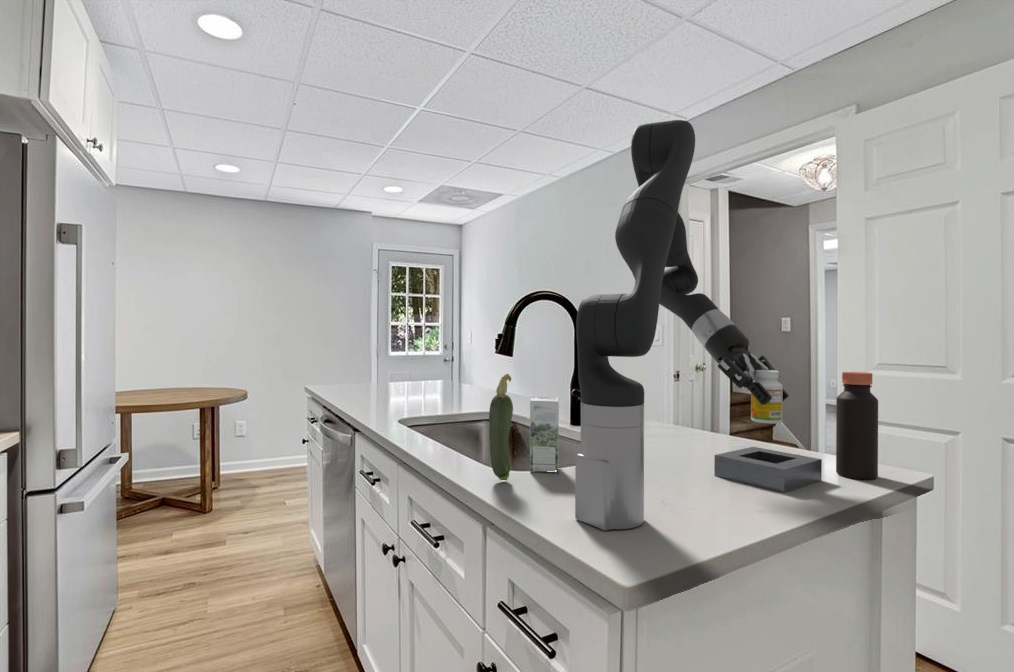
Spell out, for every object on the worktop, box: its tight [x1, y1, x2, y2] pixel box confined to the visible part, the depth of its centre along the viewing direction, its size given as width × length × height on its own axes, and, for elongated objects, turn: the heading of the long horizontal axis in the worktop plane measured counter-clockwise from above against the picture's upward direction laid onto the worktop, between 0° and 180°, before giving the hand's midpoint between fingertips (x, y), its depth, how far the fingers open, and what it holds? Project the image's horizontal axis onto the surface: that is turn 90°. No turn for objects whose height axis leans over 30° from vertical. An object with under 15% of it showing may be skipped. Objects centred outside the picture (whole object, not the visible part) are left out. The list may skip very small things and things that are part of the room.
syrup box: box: [529, 396, 560, 473], centre depth 108 cm, size 6×6×14 cm
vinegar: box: [835, 371, 879, 481], centre depth 104 cm, size 7×7×20 cm
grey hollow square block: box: [713, 446, 823, 493], centre depth 102 cm, size 14×14×4 cm
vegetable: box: [488, 373, 514, 482], centre depth 99 cm, size 4×4×20 cm
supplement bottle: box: [750, 369, 784, 425], centre depth 102 cm, size 5×5×10 cm
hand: (776, 400), depth 100 cm, fingers closed on supplement bottle, 5 cm apart
